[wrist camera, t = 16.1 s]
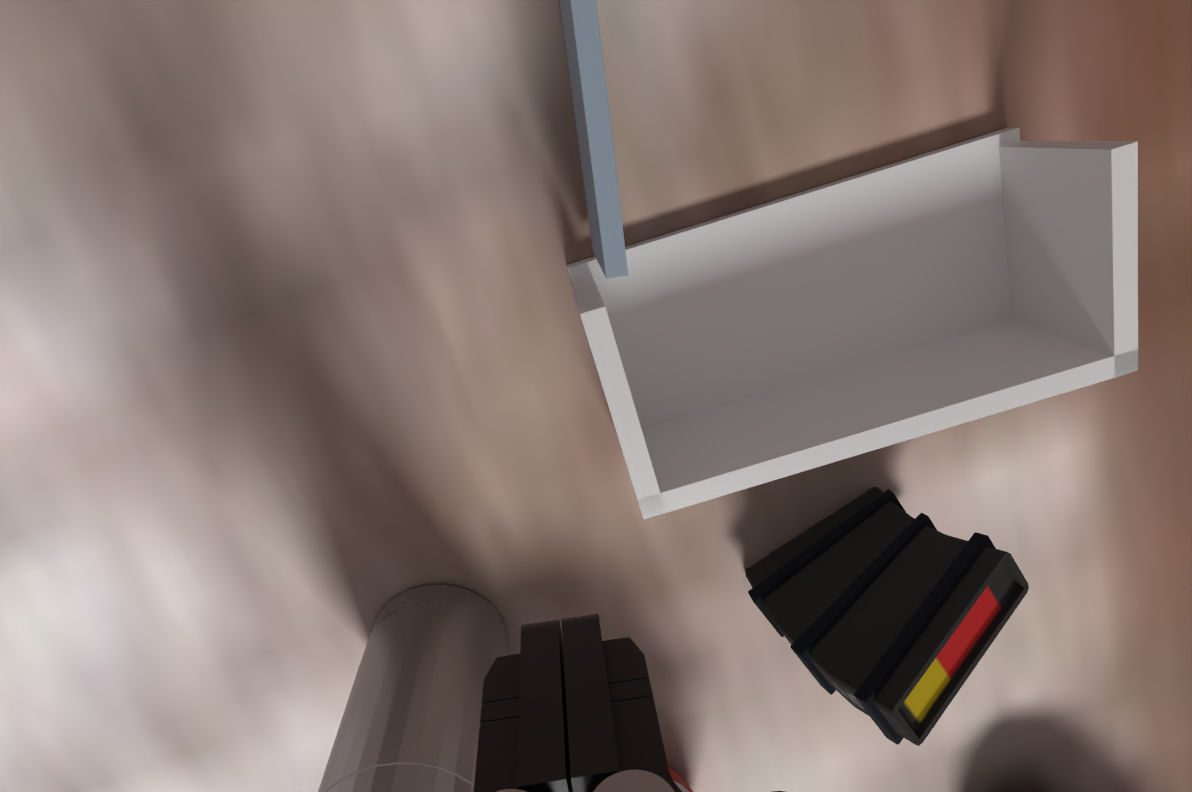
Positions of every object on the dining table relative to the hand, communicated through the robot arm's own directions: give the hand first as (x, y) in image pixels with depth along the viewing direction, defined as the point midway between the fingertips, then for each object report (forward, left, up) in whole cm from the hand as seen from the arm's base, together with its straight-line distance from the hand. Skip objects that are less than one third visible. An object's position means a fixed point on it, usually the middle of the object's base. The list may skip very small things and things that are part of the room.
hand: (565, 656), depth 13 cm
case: (-4, -15, -29) cm, 33 cm away
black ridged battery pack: (-21, -14, -29) cm, 39 cm away
